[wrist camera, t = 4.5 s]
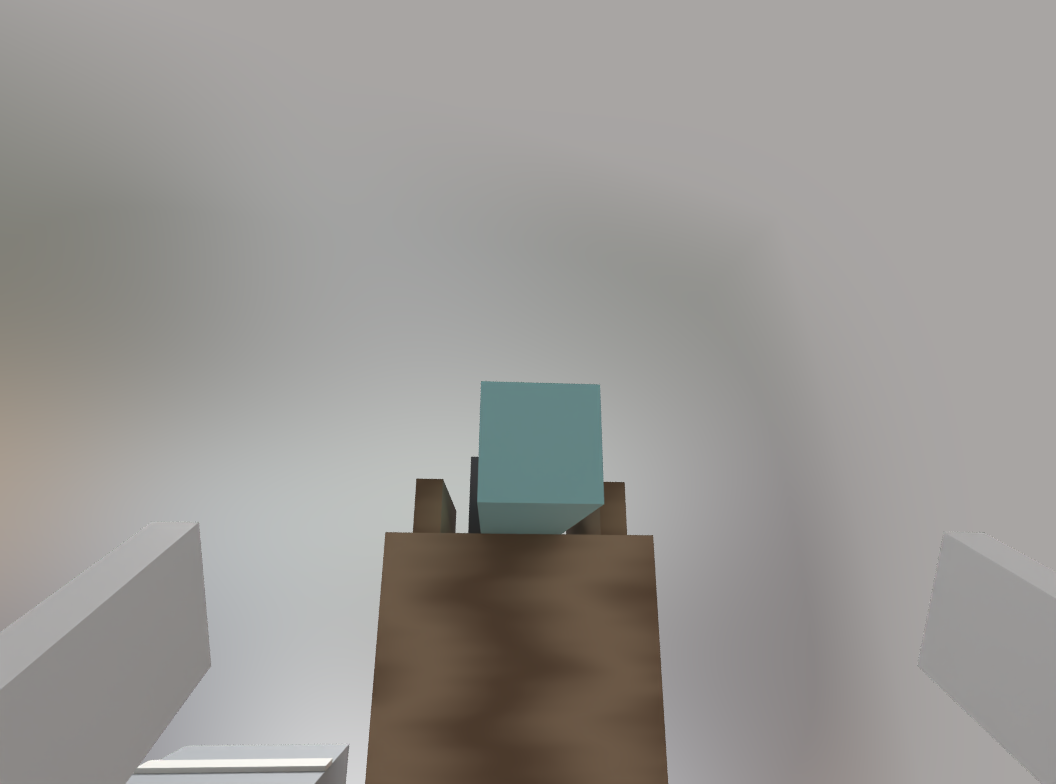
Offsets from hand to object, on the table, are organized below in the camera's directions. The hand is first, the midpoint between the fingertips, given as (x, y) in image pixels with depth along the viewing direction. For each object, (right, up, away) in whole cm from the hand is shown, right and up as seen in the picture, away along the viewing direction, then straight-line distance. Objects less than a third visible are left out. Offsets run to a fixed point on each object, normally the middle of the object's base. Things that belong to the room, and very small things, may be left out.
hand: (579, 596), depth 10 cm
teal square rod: (-1, -2, +13) cm, 13 cm away
